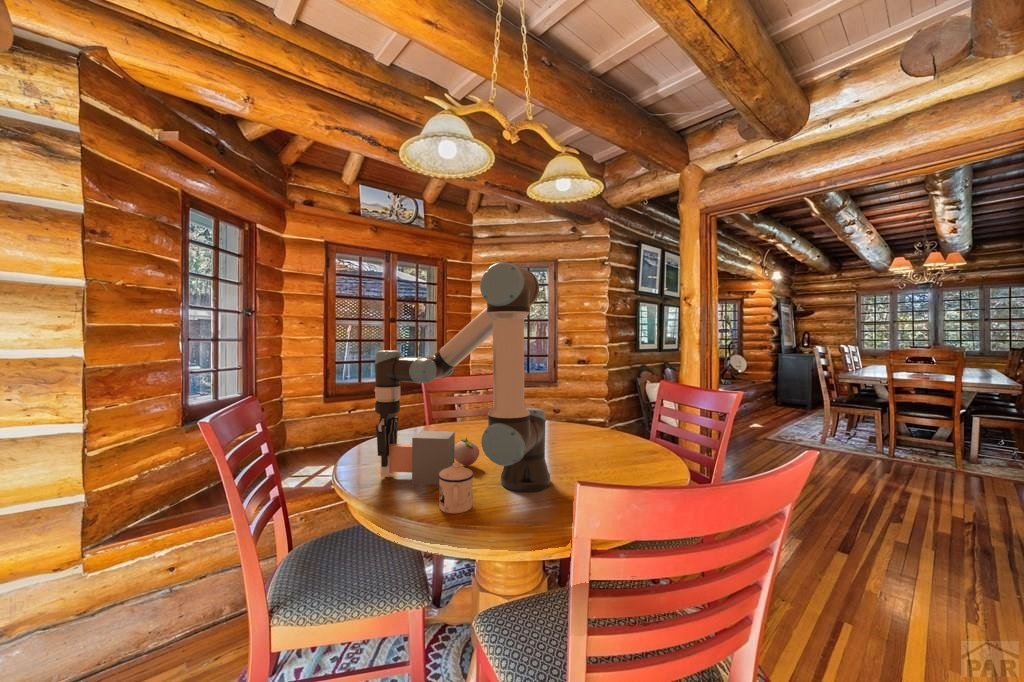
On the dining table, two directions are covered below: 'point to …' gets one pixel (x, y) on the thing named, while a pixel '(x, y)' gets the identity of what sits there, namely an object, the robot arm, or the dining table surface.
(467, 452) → the decorative fruit
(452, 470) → the teacup with lid
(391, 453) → the orange rectangular block
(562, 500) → the dining table surface
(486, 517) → the dining table surface
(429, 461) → the gray rectangular block
